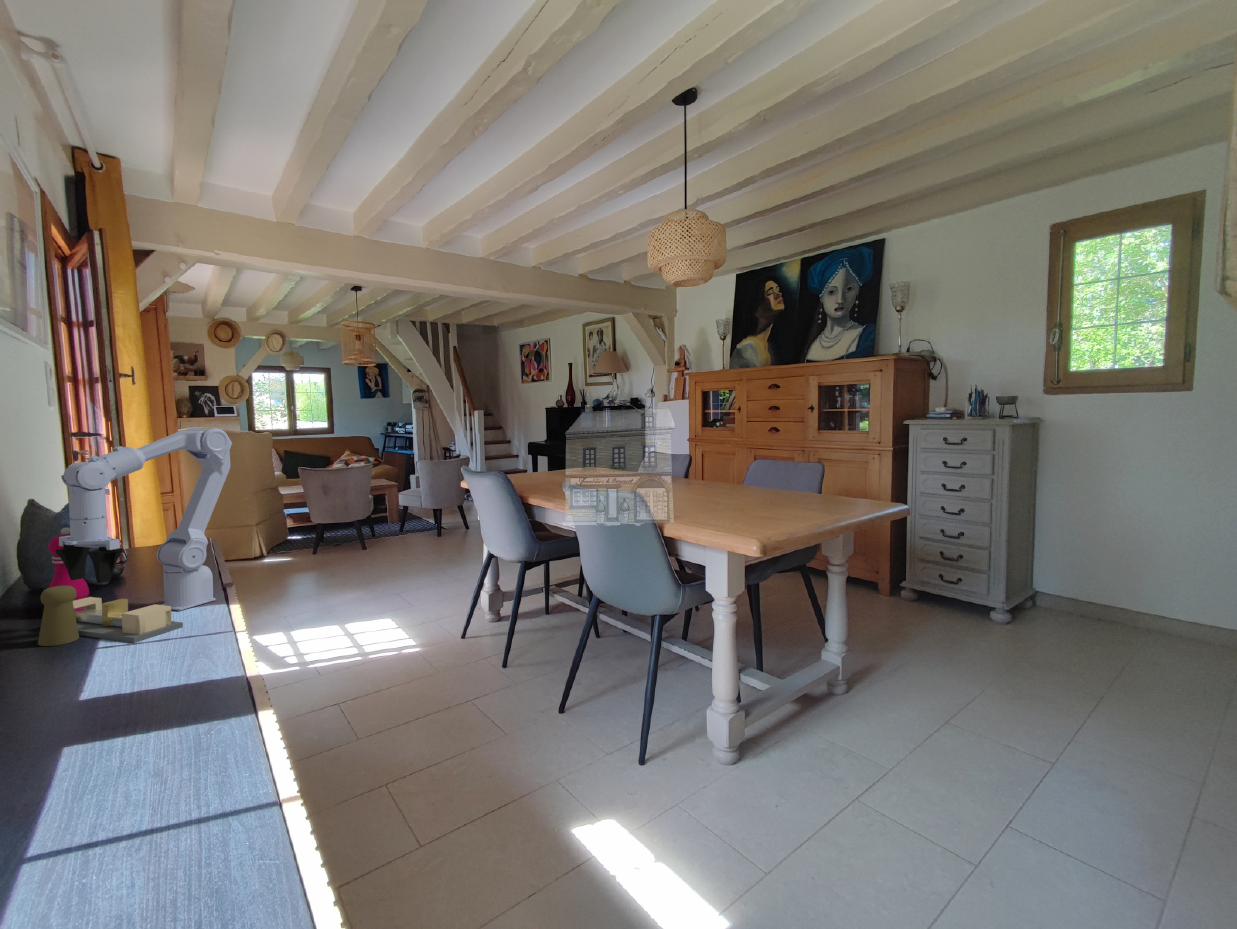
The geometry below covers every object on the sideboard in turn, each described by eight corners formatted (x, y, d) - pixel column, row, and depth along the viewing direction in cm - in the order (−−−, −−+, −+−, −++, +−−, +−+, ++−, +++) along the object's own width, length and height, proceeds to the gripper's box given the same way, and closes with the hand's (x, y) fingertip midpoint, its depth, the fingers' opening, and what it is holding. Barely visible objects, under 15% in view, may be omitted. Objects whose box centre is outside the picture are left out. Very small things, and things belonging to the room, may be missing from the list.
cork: (39, 648, 112) (39, 592, 111) (35, 640, 115) (35, 586, 115) (81, 640, 116) (81, 587, 116) (76, 633, 120) (76, 581, 120)
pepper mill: (63, 618, 129) (60, 530, 128) (38, 616, 131) (35, 529, 130) (97, 609, 136) (95, 526, 135) (74, 607, 138) (71, 524, 137)
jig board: (97, 616, 131) (96, 594, 131) (182, 626, 125) (182, 604, 125) (44, 630, 122) (43, 607, 121) (134, 642, 116) (133, 618, 115)
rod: (83, 614, 128) (83, 594, 128) (142, 622, 124) (141, 600, 124) (62, 620, 124) (62, 599, 124) (121, 628, 120) (121, 606, 120)
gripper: (40, 519, 121) (43, 582, 121) (92, 522, 117) (95, 588, 118) (79, 514, 127) (81, 574, 128) (129, 517, 124) (131, 579, 125)
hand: (90, 580), depth 124 cm, fingers open, 7 cm apart
